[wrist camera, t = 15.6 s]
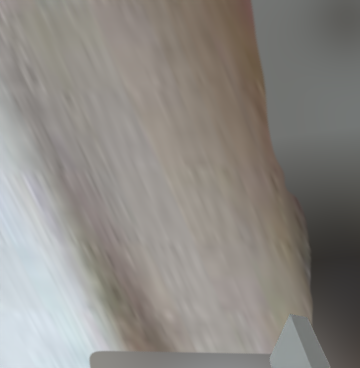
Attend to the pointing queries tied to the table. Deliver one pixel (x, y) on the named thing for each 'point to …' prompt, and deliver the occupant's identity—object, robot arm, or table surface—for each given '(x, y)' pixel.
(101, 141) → the table surface
